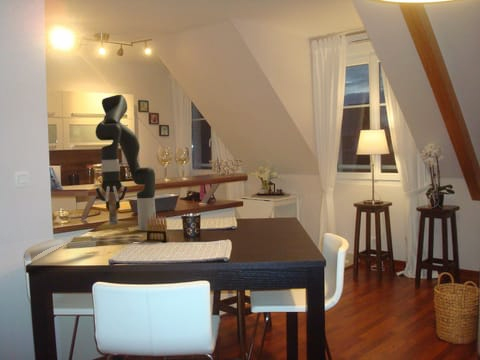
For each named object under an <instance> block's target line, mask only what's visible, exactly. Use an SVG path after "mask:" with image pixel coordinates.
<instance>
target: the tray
mask: <svg viewBox="0 0 480 360" xmlns="http://www.w3.org/2000/svg"><path fill="white" fill-rule="evenodd" d="M98 238H100V236H93V241H86V242H73V238H71V239H70V240H69V241H68V242H67V249H73V248H74V249H75V248H89V247H97V246H96V241H98Z"/></svg>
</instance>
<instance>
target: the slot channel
mask: <svg viewBox="0 0 480 360" xmlns="http://www.w3.org/2000/svg"><path fill="white" fill-rule="evenodd" d="M143 236H144V235H143V234H135V235H131V234H130V235H120V236H118V235H117V236H103V237H102V236H101V237H99V238H98V241H96V246H95V247H107V246H108V247H110V246H123V245H130V244H129V243H133V242H142V243H143V238H144V237H143Z"/></svg>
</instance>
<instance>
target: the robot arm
mask: <svg viewBox="0 0 480 360" xmlns="http://www.w3.org/2000/svg"><path fill="white" fill-rule="evenodd" d="M101 105H102V109H103V111H104V114H105V115H104V118H103V120H102V121H100V122H99V123H98V124H97V126H96V127H95V131H94V132H95V136H96V138H97V139H98V140H100V141H112V142H111V144H109V145H105V146H102V147H101V149H100V151H101V152H100V153H101V181H102V184H101V185H100V186H99V187H96V189H95V191H96V193H97V194H98V197H99V199H100V200H101V201H102V202H105V208H106V210H107V211H108V212H109V198H108V197H109V192H114V194H115V196H116V210H117V211H119V209H120V208H121V204H120V203H121V201H122V200H125V199H124V198H125V197H126V193H127V191H128V186H125V185H123V184H122V182H121V166H120V161H119V146H120V149H121V150H122V153H123V155H124V157H125V160H126V163H127V165H128V169H129V172H130V175H131V179H132V181H133V182H134V184H135V185H138V186H144V187H143V189H142V190H140V191H138V192H137V193H136V203H137V220H138V221H137V223H138V231H140V232H141V231H142V232H144V231H145V232H147V218H148V216H149V218H150V224H151V216H152V217H153V224H154V216H155V217H156V216H157V215H156V203H155V200H156V198H155V193H156V173H155V170H154V169H153V168H152V167H142V166H140V164H139V161H138V156H139V153H140V143H139V139H138V138H137V135H136V133H135V132H134V131H133V130H131V129H130V128H129V127H128V126H126V125H124V124H123V123H122V122H121V120H122V118H123V117H124V116H125V114H126V113H127V110H128V103H127V100H126V97H125V96H124V95H123V94H114V95H112V96H108V97H105V98H103V99H102V100H101ZM103 190H104V192H105V197H104V195H103V193H102V191H103ZM120 190H121V191H122V192H121V195H119V191H120ZM156 218H157V217H156Z"/></svg>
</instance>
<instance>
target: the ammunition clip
mask: <svg viewBox="0 0 480 360" xmlns="http://www.w3.org/2000/svg"><path fill="white" fill-rule="evenodd" d="M146 240H147V241H150V240H151V241H161V243H168V242H169V230H168V225H167V217H166V215H164V216H162V215H161V216H159V215H157V217H155V216H154V224H153V217H152V216H151V224H150V218H149V216H148V218H147V231H146Z"/></svg>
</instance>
